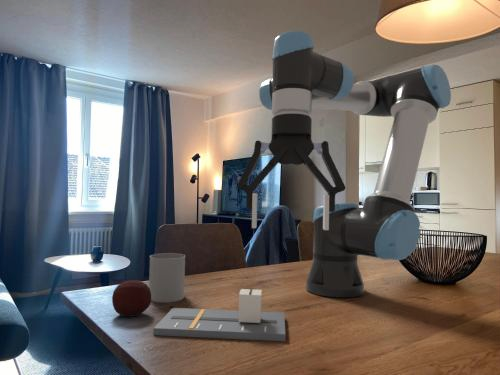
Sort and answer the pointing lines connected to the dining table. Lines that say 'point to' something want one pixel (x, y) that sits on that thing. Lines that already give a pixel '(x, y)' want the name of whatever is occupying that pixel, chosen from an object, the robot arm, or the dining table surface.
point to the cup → (167, 277)
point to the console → (220, 325)
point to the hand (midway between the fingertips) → (289, 228)
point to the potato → (131, 298)
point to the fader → (250, 305)
